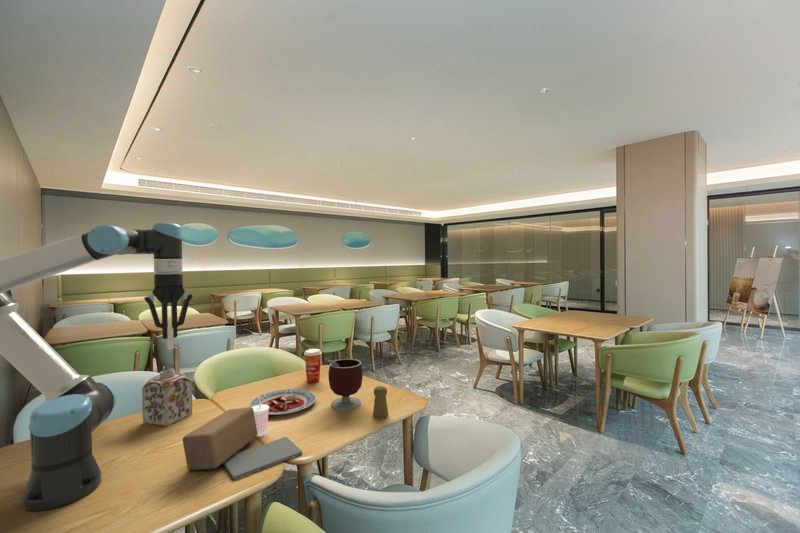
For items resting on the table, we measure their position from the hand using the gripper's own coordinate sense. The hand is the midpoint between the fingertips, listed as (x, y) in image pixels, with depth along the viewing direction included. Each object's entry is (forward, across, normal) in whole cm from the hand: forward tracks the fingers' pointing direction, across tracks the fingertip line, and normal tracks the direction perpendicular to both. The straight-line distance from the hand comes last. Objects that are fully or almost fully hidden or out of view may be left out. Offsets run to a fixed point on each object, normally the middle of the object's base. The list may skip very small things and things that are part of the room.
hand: (170, 348), depth 114 cm
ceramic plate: (+33, +41, +11) cm, 54 cm away
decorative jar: (+33, +3, +28) cm, 43 cm away
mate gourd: (+33, +60, -5) cm, 68 cm away
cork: (+33, +65, -23) cm, 76 cm away
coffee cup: (+33, +64, +30) cm, 78 cm away
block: (+27, +3, -19) cm, 33 cm away
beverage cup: (+33, +25, -7) cm, 42 cm away
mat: (+32, +20, -23) cm, 44 cm away
